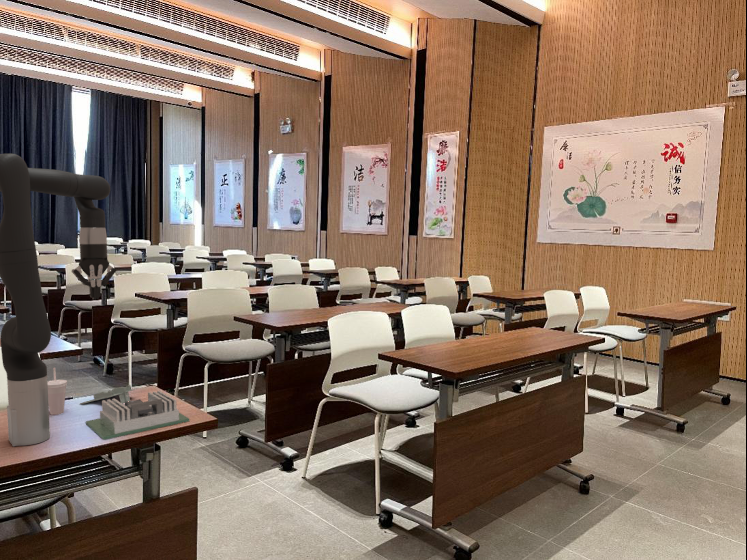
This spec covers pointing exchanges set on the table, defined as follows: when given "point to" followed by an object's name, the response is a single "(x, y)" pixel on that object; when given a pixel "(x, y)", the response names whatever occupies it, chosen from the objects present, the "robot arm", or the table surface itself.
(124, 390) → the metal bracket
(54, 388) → the smoothie
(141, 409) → the dark gray rectangular plate
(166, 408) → the heatsink
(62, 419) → the table surface
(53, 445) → the table surface
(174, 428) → the table surface
